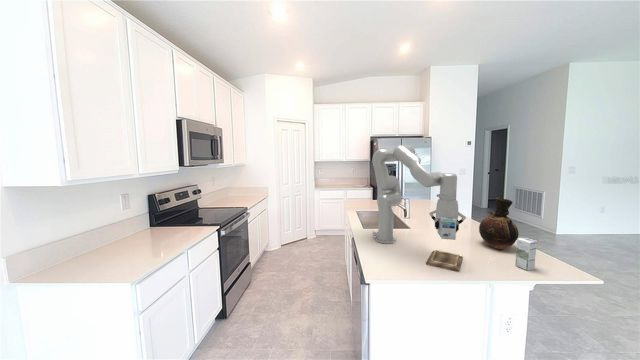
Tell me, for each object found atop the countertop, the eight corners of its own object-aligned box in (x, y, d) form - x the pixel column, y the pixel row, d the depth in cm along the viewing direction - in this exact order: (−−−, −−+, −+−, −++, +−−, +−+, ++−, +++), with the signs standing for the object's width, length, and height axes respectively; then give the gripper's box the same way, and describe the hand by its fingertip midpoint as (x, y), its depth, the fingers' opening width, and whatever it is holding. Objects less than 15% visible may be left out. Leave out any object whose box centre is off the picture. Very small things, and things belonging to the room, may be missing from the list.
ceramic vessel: (471, 241, 159) (473, 195, 156) (496, 239, 161) (499, 194, 157) (496, 254, 138) (500, 202, 135) (525, 253, 140) (530, 201, 136)
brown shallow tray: (426, 264, 128) (426, 260, 127) (432, 252, 142) (432, 248, 142) (459, 272, 119) (459, 267, 119) (462, 258, 134) (462, 254, 134)
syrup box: (535, 269, 121) (537, 240, 120) (527, 271, 119) (529, 242, 117) (522, 264, 127) (524, 236, 125) (514, 266, 124) (516, 238, 123)
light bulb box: (455, 240, 123) (457, 219, 122) (441, 239, 125) (442, 218, 123) (450, 233, 133) (451, 213, 132) (436, 232, 135) (437, 213, 134)
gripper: (428, 197, 129) (427, 229, 130) (466, 200, 119) (464, 235, 121) (431, 194, 135) (429, 225, 137) (468, 197, 125) (466, 231, 127)
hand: (446, 230), depth 129 cm, fingers closed on light bulb box, 8 cm apart
